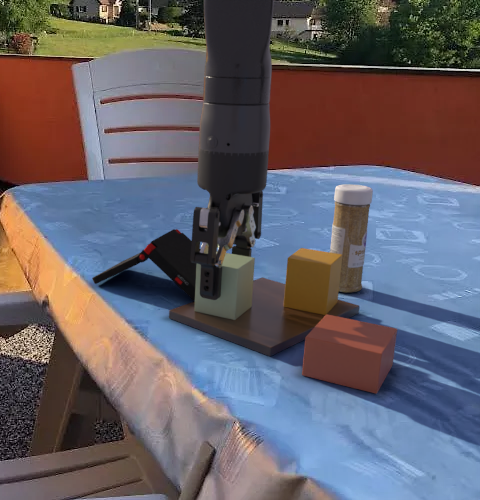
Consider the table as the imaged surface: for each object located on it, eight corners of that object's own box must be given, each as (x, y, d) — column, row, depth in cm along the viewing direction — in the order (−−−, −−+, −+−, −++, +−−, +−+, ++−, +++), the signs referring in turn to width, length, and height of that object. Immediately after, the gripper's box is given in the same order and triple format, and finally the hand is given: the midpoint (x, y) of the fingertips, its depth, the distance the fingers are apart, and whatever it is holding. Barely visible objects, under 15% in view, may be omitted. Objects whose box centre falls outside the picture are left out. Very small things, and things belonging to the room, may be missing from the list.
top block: (296, 294, 87) (301, 247, 85) (337, 302, 84) (342, 254, 83) (283, 306, 83) (287, 257, 81) (325, 315, 80) (331, 265, 78)
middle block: (212, 298, 85) (214, 250, 83) (251, 306, 82) (255, 257, 81) (194, 311, 81) (196, 261, 79) (235, 320, 78) (238, 268, 76)
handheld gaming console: (228, 273, 92) (184, 322, 97) (161, 211, 95) (121, 262, 99) (201, 294, 84) (155, 347, 89) (129, 226, 86) (87, 281, 91)
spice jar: (363, 295, 90) (375, 191, 86) (326, 292, 91) (336, 189, 87) (359, 283, 94) (371, 184, 91) (324, 280, 95) (334, 182, 91)
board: (261, 284, 93) (262, 277, 93) (358, 313, 84) (359, 305, 84) (168, 318, 81) (168, 310, 81) (270, 356, 72) (270, 347, 71)
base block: (322, 349, 73) (326, 313, 72) (392, 365, 70) (397, 328, 69) (301, 375, 68) (305, 336, 67) (376, 394, 64) (381, 353, 63)
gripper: (240, 156, 69) (231, 313, 73) (288, 141, 80) (278, 276, 85) (172, 149, 72) (167, 299, 77) (227, 136, 84) (220, 266, 88)
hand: (225, 287), depth 81 cm, fingers open, 8 cm apart
